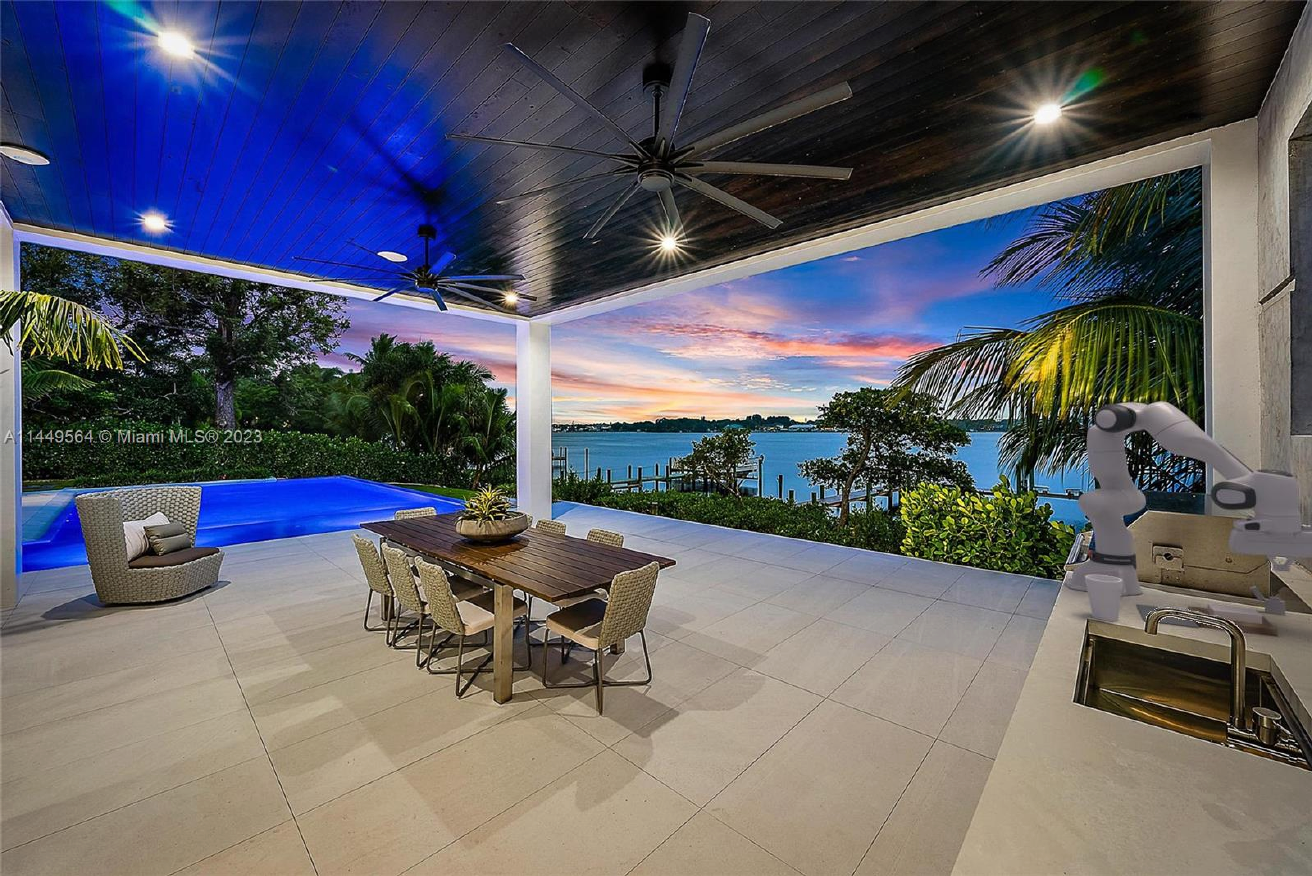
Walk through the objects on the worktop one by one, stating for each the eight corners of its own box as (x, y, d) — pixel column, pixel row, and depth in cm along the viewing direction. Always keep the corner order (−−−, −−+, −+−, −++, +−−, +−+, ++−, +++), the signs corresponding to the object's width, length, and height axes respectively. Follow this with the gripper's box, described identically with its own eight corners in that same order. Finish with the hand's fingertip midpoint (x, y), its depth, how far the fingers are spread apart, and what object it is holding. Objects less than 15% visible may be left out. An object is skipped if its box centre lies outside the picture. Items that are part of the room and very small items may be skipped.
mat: (1144, 621, 166) (1144, 620, 166) (1136, 605, 180) (1136, 604, 180) (1198, 628, 158) (1198, 626, 158) (1185, 610, 173) (1185, 609, 173)
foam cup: (1113, 624, 165) (1111, 583, 165) (1080, 616, 173) (1078, 577, 173) (1131, 619, 168) (1128, 579, 168) (1097, 611, 177) (1095, 573, 177)
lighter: (1285, 614, 165) (1283, 589, 166) (1285, 615, 164) (1283, 590, 164) (1251, 609, 171) (1250, 585, 171) (1251, 610, 170) (1249, 586, 170)
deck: (1198, 626, 159) (1198, 620, 159) (1188, 612, 171) (1187, 606, 171) (1277, 636, 150) (1277, 629, 150) (1260, 620, 162) (1260, 614, 162)
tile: (1213, 618, 160) (1213, 610, 160) (1208, 611, 166) (1207, 604, 166) (1262, 624, 154) (1261, 615, 154) (1254, 616, 160) (1254, 608, 160)
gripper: (1328, 524, 150) (1332, 571, 150) (1225, 521, 163) (1229, 565, 162) (1338, 527, 145) (1342, 577, 145) (1231, 524, 158) (1235, 569, 157)
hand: (1281, 570), depth 154 cm, fingers closed
